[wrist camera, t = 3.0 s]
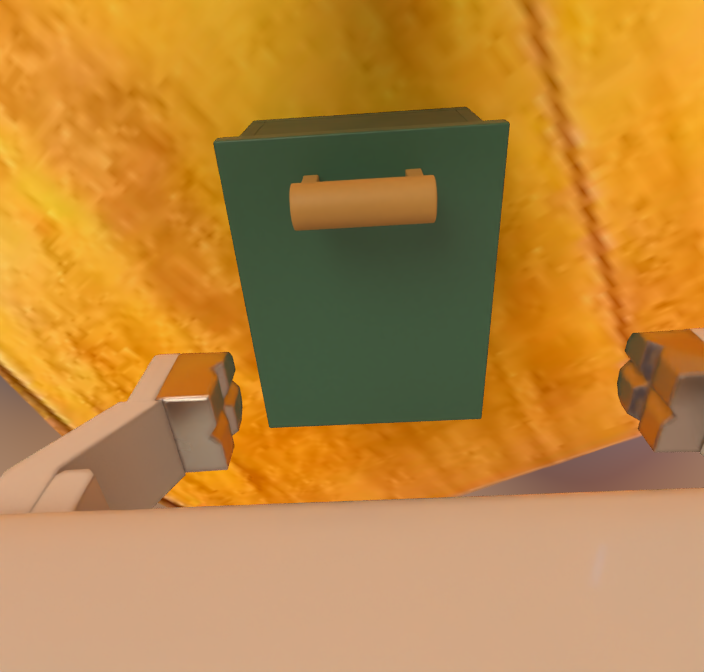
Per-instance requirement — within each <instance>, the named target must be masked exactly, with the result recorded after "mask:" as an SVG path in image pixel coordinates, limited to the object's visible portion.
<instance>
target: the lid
mask: <svg viewBox="0 0 704 672" xmlns="http://www.w3.org/2000/svg"><path fill="white" fill-rule="evenodd" d="M509 126H510V124H509V122H508V121H506V120H488V121H473V122H457V123H442V124H426V125H411V126H395V127H380V128H364V129H348V130H333V131H317V132H302V133H286V134H271V135H255V136H240V137H224V138H217V139H216V140H215V141H214V143H213V144H214V149H215V154H216V159H217V164H218V169H219V174H220V179H221V184H222V189H223V194H224V200H225V205H226V210H227V215H228V220H229V225H230V230H231V235H232V240H233V245H234V250H235V255H236V260H237V265H238V271H239V276H240V281H241V286H242V291H243V296H244V301H245V306H246V311H247V316H248V321H249V326H250V331H251V337H252V342H253V347H254V352H255V357H256V362H257V367H258V372H259V377H260V382H261V387H262V392H263V397H264V403H265V408H266V413H267V418H268V423H269V427H270V428H277V427H301V426H324V425H347V424H371V423H394V422H418V421H441V420H464V419H481V417H482V407H483V396H484V386H485V376H486V365H487V355H488V344H489V334H490V324H491V313H492V303H493V292H494V282H495V272H496V261H497V251H498V240H499V230H500V220H501V209H502V199H503V189H504V178H505V168H506V157H507V147H508V137H509Z"/></svg>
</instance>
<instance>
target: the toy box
mask: <svg viewBox="0 0 704 672" xmlns="http://www.w3.org/2000/svg"><path fill="white" fill-rule="evenodd" d="M473 121H482V120H481V119H480V118H479V117H478V116H476V115H475V114H474V113H473V112H472V111H471V110H470V109H468V108H467V107H456V108H441V109H426V110H410V111H395V112H380V113H364V114H349V115H334V116H319V117H303V118H288V119H273V120H257V121H253V122H252V123H251V124H250V125H249V127H248V128H247V129H246V130H245V131H244V132H243V133H242V134H241V135H240V136H255V135H271V134H286V133H302V132H317V131H333V130H348V129H364V128H380V127H395V126H411V125H426V124H442V123H457V122H473ZM240 136H239V137H240Z"/></svg>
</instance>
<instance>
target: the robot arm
mask: <svg viewBox="0 0 704 672" xmlns="http://www.w3.org/2000/svg"><path fill="white" fill-rule="evenodd" d="M625 352H626V354H627V355H628V357H629V358H630V360H629V361H628V362H627V363H626V364H625V365H624V366H623V367H622V368H621V369H620V372H619V377H618V381H617V386H618V396H619V399H620V402H621V404H622V406H623V408H624V409H625V411H626V412H627V414H629V415H631V416H633V417H635V418H636V419H638V420H640V423H639V426H638V430H639V431H640V433H641V434H642V435H643V437H644V438H645V440H646V441H647V443H648V444H649V445H650V447H651V448H652V450H653V451H654V452H700V454H701V455H703V456H704V328H694V329H684V330H671V331H657V332H643V333H632V335H631V336H630V338H629V339H628V341H627V345H626V349H625ZM234 372H235V365H234V362H233V358H232V355H231V354H230V353H229V352H215V353H183V354H180V353H177V354H160V355H157V356H154V357H153V359H152V361H151V362H150V364H149V366H148V367H147V369H146V371H145V372H144V374H143V376H142V377H141V379H140V380H139V382H138V384H137V385H136V387H135V389H134V390H133V392H132V394H131V395H130V397H129V399H128V400H127V402H119V403H117V404H115V405H114V406H112V407H110V408H109V409H107V410H105V411H104V412H102V413H100V414H99V415H97V416H96V417H94V418H92V419H91V420H89V421H87V422H86V423H84V424H82V425H81V426H79V427H77V428H76V429H74V430H72V431H71V432H69V433H67V434H66V435H64V436H62V437H61V438H59V439H57V440H56V441H54V442H52V443H51V444H49V445H47V446H46V447H44V448H43V449H41V450H39V451H37V452H36V453H34V454H32V455H31V456H30V457H27V458H26V459H24V460H22V461H21V462H19V463H18V464H16V465H14V466H13V467H11V468H9V469H8V470H6V471H5V472H4V474H3V475H2V476H1V478H0V672H704V488H683V489H657V490H632V491H603V492H577V493H551V494H526V495H498V496H474V497H473V496H471V497H445V498H418V499H391V500H364V501H338V502H311V503H284V504H258V505H231V506H204V507H178V508H154V509H153V507H154V506H155V505H156V504H157V503H158V502H159V501H160V500H161V499H162V498H163V497H164V496H165V495H166V494H167V493H168V492H169V491H170V490H171V489H172V488H173V487H174V486H175V485H176V484H177V483H178V482H179V481H180V480H181V479H182V478H183V477H184V476H185V472H199V471H214V470H228V466H229V463H230V459H231V456H232V453H233V449H234V441H233V437H232V436H233V435H234V434H235V433H236V432H237V431H239V428H240V424H241V419H242V398H241V392H240V387H239V386H238V385H237V384H236V383H235V382H234V381H232V379H233V376H234Z"/></svg>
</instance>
